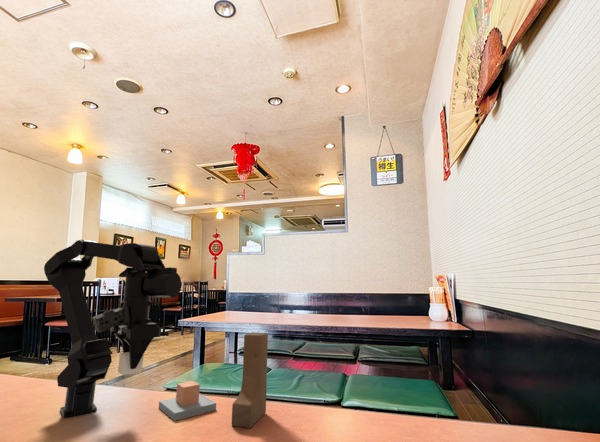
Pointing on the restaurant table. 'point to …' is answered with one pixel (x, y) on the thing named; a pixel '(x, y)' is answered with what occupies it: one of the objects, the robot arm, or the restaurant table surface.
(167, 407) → the build plate
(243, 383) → the wooden block
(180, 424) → the restaurant table surface
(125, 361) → the cream brick
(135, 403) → the restaurant table surface
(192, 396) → the terracotta brick
